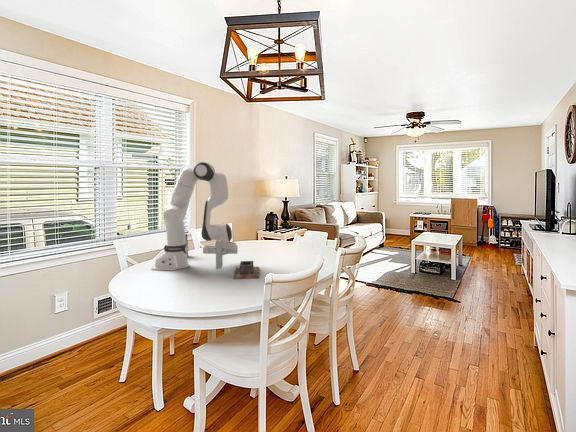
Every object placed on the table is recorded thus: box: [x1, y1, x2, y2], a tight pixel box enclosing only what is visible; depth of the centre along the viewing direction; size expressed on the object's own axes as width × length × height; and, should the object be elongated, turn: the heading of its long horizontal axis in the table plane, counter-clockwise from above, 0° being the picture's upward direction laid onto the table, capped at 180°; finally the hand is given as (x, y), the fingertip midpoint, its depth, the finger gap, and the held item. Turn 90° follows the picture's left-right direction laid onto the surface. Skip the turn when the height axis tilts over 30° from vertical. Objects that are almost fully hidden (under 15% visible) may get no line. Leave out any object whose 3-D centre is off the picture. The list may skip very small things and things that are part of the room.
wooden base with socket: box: [233, 260, 260, 280], centre depth 194 cm, size 14×20×6 cm
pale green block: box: [215, 239, 224, 270], centre depth 191 cm, size 3×6×16 cm, turn 5°
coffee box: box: [185, 233, 189, 257], centre depth 241 cm, size 9×6×16 cm
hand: (219, 252), depth 190 cm, fingers closed on pale green block, 3 cm apart
